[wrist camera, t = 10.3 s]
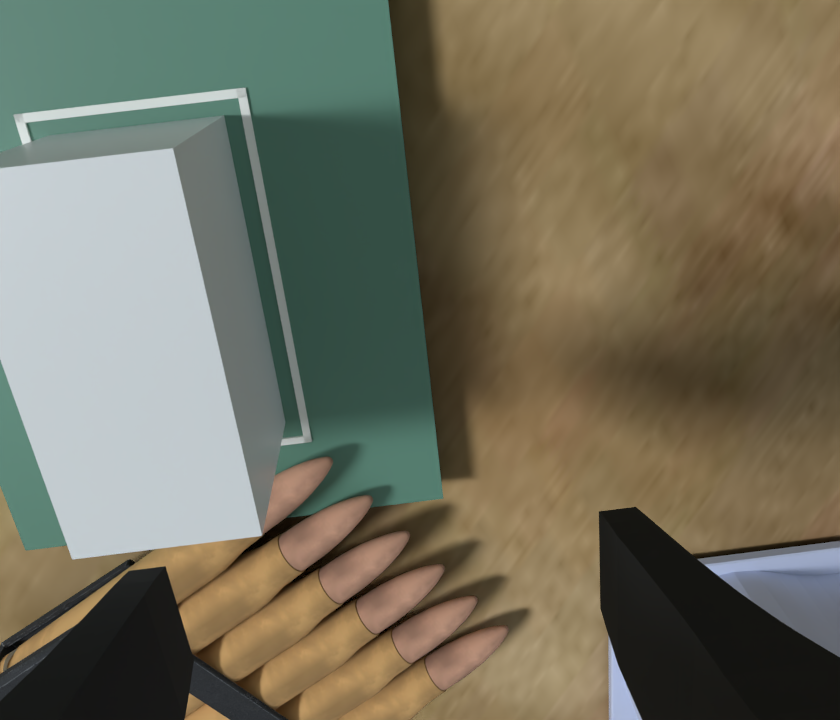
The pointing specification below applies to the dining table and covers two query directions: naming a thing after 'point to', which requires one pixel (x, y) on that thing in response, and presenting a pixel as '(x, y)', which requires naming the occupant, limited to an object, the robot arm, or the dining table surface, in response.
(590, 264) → the dining table surface
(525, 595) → the dining table surface
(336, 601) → the ammunition clip
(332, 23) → the board
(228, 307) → the block
